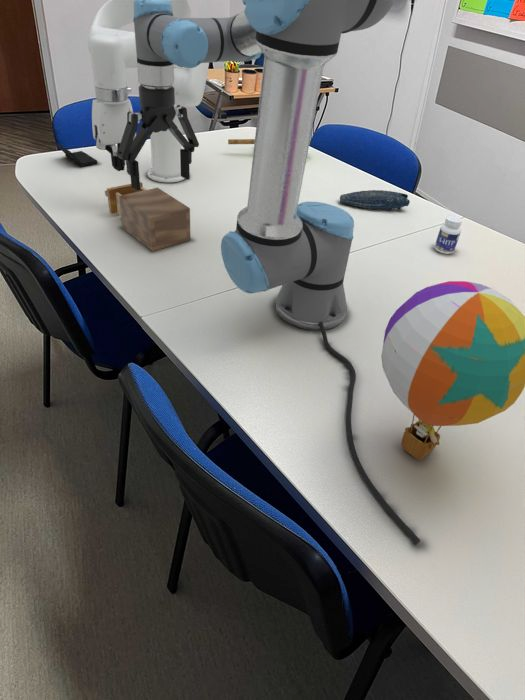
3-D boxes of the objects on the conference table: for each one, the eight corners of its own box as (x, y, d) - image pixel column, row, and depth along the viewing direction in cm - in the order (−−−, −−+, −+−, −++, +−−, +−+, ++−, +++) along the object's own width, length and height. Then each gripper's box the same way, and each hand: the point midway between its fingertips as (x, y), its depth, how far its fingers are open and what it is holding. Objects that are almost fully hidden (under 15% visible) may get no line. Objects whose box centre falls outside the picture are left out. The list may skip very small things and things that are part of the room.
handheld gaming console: (102, 156, 171) (80, 134, 163) (90, 174, 170) (68, 153, 161) (81, 152, 177) (60, 131, 169) (70, 169, 176) (48, 148, 168)
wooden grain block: (122, 228, 137) (119, 195, 131) (159, 218, 143) (157, 187, 137) (152, 251, 128) (150, 218, 122) (190, 240, 134) (189, 208, 128)
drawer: (100, 205, 144) (97, 181, 140) (132, 198, 149) (130, 175, 145) (134, 232, 133) (132, 207, 129) (168, 223, 138) (167, 199, 134)
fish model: (408, 214, 157) (412, 198, 153) (339, 207, 158) (341, 191, 154) (406, 206, 162) (410, 190, 159) (339, 199, 163) (341, 183, 160)
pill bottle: (433, 251, 139) (442, 220, 133) (435, 243, 143) (444, 213, 137) (453, 256, 138) (464, 225, 132) (454, 247, 142) (465, 217, 136)
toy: (330, 441, 84) (367, 281, 65) (404, 391, 94) (454, 241, 75) (431, 526, 73) (512, 363, 54) (502, 459, 83) (589, 303, 64)
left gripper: (131, 87, 132) (136, 160, 144) (75, 93, 124) (85, 169, 136) (146, 94, 128) (151, 168, 139) (89, 101, 120) (99, 179, 131)
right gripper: (194, 76, 119) (195, 168, 132) (93, 86, 106) (105, 187, 119) (214, 84, 115) (212, 178, 128) (111, 95, 101) (121, 199, 115)
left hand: (118, 169), depth 137 cm, fingers closed
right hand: (161, 183), depth 124 cm, fingers open, 13 cm apart
